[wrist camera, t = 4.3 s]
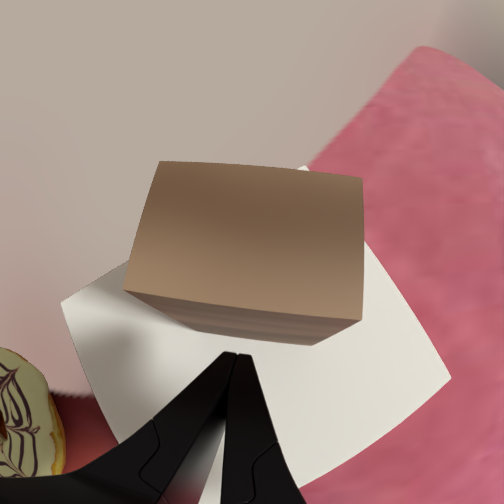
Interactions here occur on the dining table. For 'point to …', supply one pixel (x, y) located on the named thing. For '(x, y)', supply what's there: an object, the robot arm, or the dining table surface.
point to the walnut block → (251, 251)
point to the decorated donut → (28, 421)
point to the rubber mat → (262, 371)
